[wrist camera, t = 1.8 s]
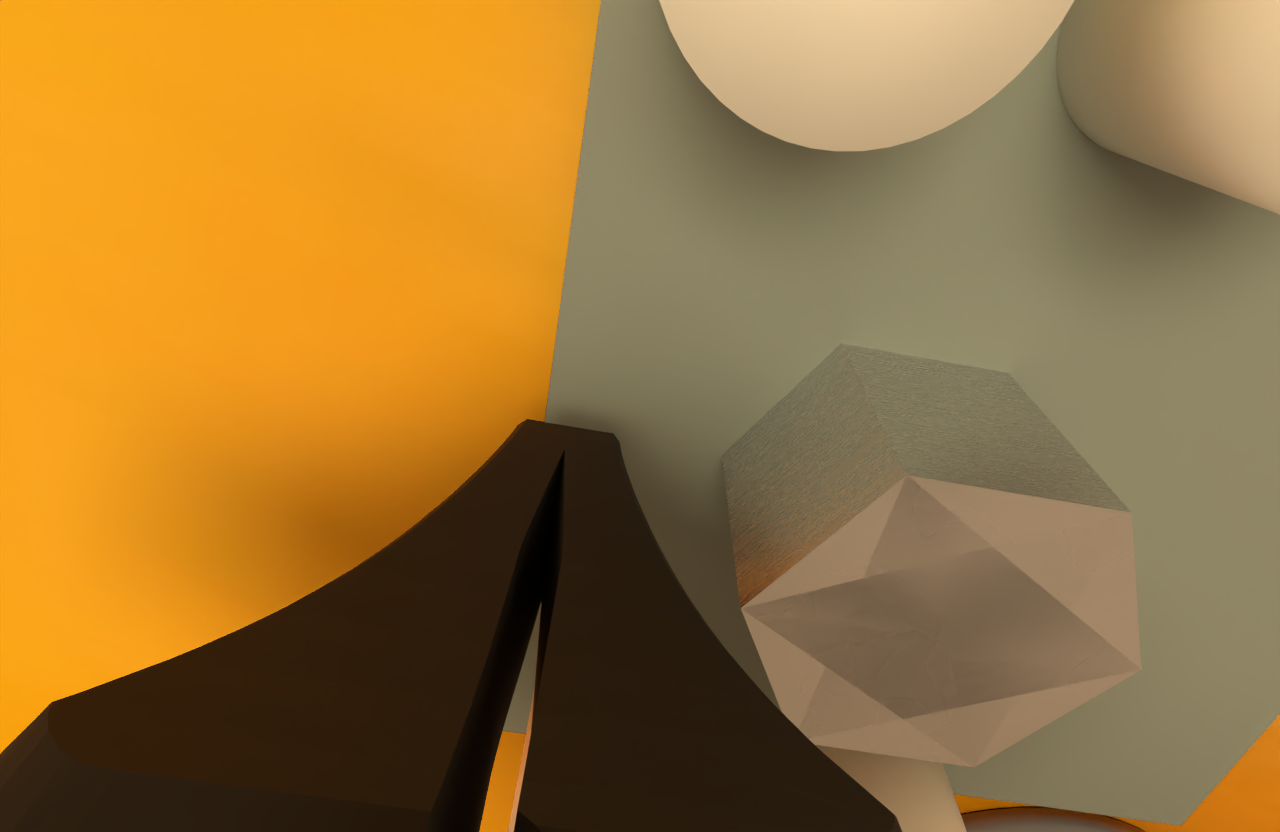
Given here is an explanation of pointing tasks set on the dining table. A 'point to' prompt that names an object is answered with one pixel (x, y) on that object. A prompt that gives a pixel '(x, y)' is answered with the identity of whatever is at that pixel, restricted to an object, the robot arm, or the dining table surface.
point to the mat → (957, 333)
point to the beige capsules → (959, 84)
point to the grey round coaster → (1042, 821)
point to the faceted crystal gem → (927, 559)
